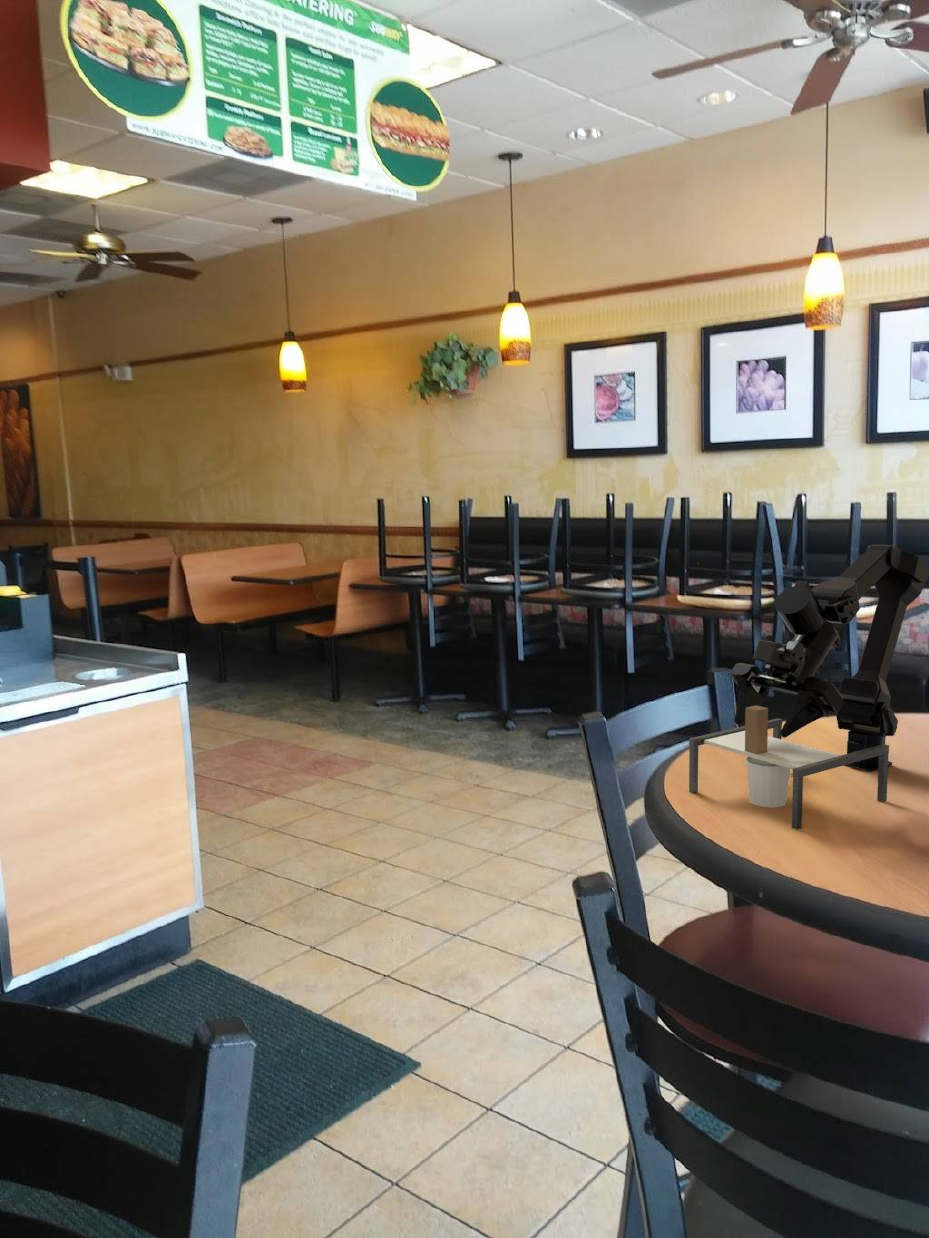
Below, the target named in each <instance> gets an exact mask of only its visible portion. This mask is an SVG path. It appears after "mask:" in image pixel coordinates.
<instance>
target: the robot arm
mask: <svg viewBox="0 0 929 1238" xmlns="http://www.w3.org/2000/svg"><path fill="white" fill-rule="evenodd" d="M928 580H929V564H928V563H926V562H925V561H924V559H923V557H921V556H918V555H915V554H912V553H909V552H908V551H904V550H902V549H901V548H899V547H898V546H896V545H893V544H871V545H867V546H866V548H865V549H864V552H863V554H861V555H860V557H858V558H857V559H856V560H855V561H854V562H852V563H851V565H850V566H848V568H846V569H845V570H844V571H843V572H842V573H841V574H840V575H839V576H837V577H836V578H835V579H834V578H833V579H830V580H827V581H821V582H820V583H818V584H817V585H815V586H813V587H811V584H810V582H809V581H799V580H798V581H796V582H795V584H794V586H791V587H788V588H786V589H784V590H783V591H781V592H780V593H779V594H778V595H777V596H776V598H775V600H774V607H775V610H776V611H777V613H778V615H779V616H780V617H781V619H782V621H783V624H785V626H786V627H787V629H788V630H789V632H791V633H792V634H793V635H794V637H793V638H792V640H789V641H788V642H787V643H784V644H783V643H780V642H774V641H770V640H764V639H763V640H762V639H758V640H757V644H756V646H755V647H756V648H755V650H754V654H753V657H752V659H753V660H754V661H759V662H761V663H763V664H765V666H764V669H766V671H767V672H768V673H771V674H770V676H768V675H765V674H764V673H763V671H761V669H760V668H759V666H758V665H754V664H749V663H745V662H737V663H735V664H734V666H733V667H732V668H731V671H730V672H729V675H730V677H731V678H732V679H733V682H734V683H735V684H736V686H737V688H738V699H737V705H736V710H735V715H734V720H733V722H734V724H735V725H736V726H738V727H740V725H742V724H743V723H745V710H746V708H747V707H751V706H761V703H762V702H763V701H764V699H763V696H765V695H767V693H768V692H769V690H773V691H778V692H782V693H786V694H792V695H795V696H796V703H795V705H794V706H793V708H792V710H791V712H790V714H789V716H788V717H787V719H786V721H785V722H784V724H783V725H782V730H781V732H780V735H781V738H784V739H786V738H788V737H789V736H790V735H793V734H794V733H795V732H797V731H799V730H800V729H802V728H804V727H806V726H808V725H809V724H811V723H813V722H815V721H817V720H819V719H821V718H823V717H826V718H827V717H829V716H830V714H834V715H835V716H836V722H837V723H836V724H837V728H838V730H846V731H848V732H847V742H846V754H849V753H852V752H856V751H860V750H864V749H867V748H871V747H875V746H878V745H882V744H885V745H886V737H894V736H895V734H896V732H897V729H898V724H899V720H898V718H897V717H896V714H895V713H894V711H893V709H892V707H891V700H892V696H891V694H890V691H889V688H888V685H887V683H886V681H887V678H888V674H889V670H890V667H891V663H892V661H893V657H894V653H895V650H896V645H897V643H898V640H899V639H898V638H899V635H900V632H901V628H902V625H903V622H904V618H905V614H906V611H907V607H909V606H910V605H911V604H912V603H913V602H914V601H915V600H916V599H918V598H919V597H920V595H921V593H922V591H923V588H924V586H925V583H927V581H928ZM873 586H874V587H875V589H876V590H875V591H876V592H877V596H878V598H877V599H878V600H877V604H876V606H875V607H876V608H875V611H874V613H873V618H872V620H871V624H870V628H869V632H868V634H867V638H866V640H865V645H864V648H863V652H862V655H861V659H860V663H859V665H858V669H857V671H856V673H854V675H853V676H852V677H848V676H846V677H845V678H843V680H842V682H841V686H840V691H839V690H838V689H837V687H836V685H835V684H834V683H833V682H832V680H831V679H827V678H823V677H816V676H815V675H822V674H823V672H824V671H825V669H824V667H823V666H822V664H823V662H824V660H825V658H826V657H827V655H828V654H829V652H830V650H831V649H832V647H834V648H841V647H842V640H841V638H840V637H841V636H840V630H837V629H835V627H834V625H833V623H834V624H842V625H848V624H849V623H851V622H852V620H853V619H854V618H855V616H856V615H857V614H858V613H859V610H860V609H861V606H860V600H861V598H862V597H863V596H864V595H865V594H867V592H868V591H869V590H870V589H871V588H872V587H873ZM878 765H879V756H876V757H872V758H869V759H865V760H861V761H858V762H854V763H851V764H847V765H846V766H848V767H849V766H850V767H853V768H856V769H860V770H863V771H864V770H865V771H867V772H868V771H869V772H873V771H877V770H878ZM890 766H893V761H889V760H888V767H890Z"/></svg>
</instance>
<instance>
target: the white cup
mask: <svg viewBox="0 0 929 1238" xmlns="http://www.w3.org/2000/svg"><path fill="white" fill-rule="evenodd" d="M746 757H747V758H746V760H745V762H746V772H747V782H748V783H747V784H748V796H749V802H750V803H751V804H752V805H755V806H757V807H762V808H771V809H772V808H780V807H784V806H786V805H785V804H787V798H788V791H789V781H790V775H791V769H790V768H786V767H783V766H779V765H776V764H772V763H769V762H766V761H762V760H759V759H755V758H752V757H748V756H746Z"/></svg>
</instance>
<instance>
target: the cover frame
mask: <svg viewBox="0 0 929 1238" xmlns="http://www.w3.org/2000/svg"><path fill="white" fill-rule="evenodd" d="M782 728H783V718H774V719H770V720H769V719H768V730H771V729H772V737H774V738H777V739H781V740H782V736H781V735H780V732H781V730H782ZM741 731H745V725H743V726H738V727H733V728H729V729H725V730H721V731H720V730H719V731H716V732H711V733H707V734H703V735H699V736H694V737H690V738H688V746H689V748H688V749H689V759H688V760H689V761H688V763H689V765H688V766H689V768H688V770H689V771H688V772H689V773H688V780H689V781H688V792H689V793H692V794H695V793H698V792H699V746H703V745H705V744H704V740H706V739H711V738H715V737H719V736H724V735H728V734H732V733H737V732H741ZM889 753H890V745H888V744H886V743H885V744H882V745H878V746H875V747H871V748H867V749H864V750H860V751H856V752H852V753H849V754H847V753H846V754H842V755H841V754H840V755H841V756H838V757H834V758H830V759H827V760H823V761H819V762H815V763H812V764H808V765H804V766H801V767H797V768H793V769H792V800H791V801H792V802H791V804H792V806H791V828H792V829H793V830H801V829H802V828H803V798H804V796H803V794H804V792H803V791H804V790H803V789H804V788H803V787H804V777H807V776H810V775H814V774H818V773H821V772H824V771H828V770H833V769H837V768H839V767H843V766H848V765H847V764H851V763H854V762H858V761H861V760H865V759H869V758H872V757H876V756H879V765H878V769H877V770H878V771H877V772H878V773H877V795H876V796H877V797H876V799H877V800H876V801H877V802H881V803H884V802H885V801H886V802H887V800H888V775H889V766H888V761H889ZM886 802H885V803H886Z"/></svg>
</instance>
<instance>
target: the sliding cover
mask: <svg viewBox="0 0 929 1238" xmlns="http://www.w3.org/2000/svg"><path fill="white" fill-rule="evenodd" d="M768 720H769V708H768V707H764V706H761V705H759V706H751V707H747V708H746V710H745V721H744V726H745V731H741V732H737V733H732V734H728V735H724V736H719V737H715V738H711V739H706V740H704V745H708V746H711V747H714V748H718V749H722V750H724V751H728V752H732V753H735V754H738V755H742V756H746V757H752V758H755V759H759V760H762V761H766V762H769V763H772V764H776V765H779V766H783V767H786V768H790V770H793V768H797V767H801V766H804V765H808V764H812V763H815V762H819V761H823V760H827V759H830V758H834V757H838V756H841V754H838V753H835V752H834V753H833V752H829V751H826V750H824V749H823V750H822V749H818V748H815V747H811V746H807V745H803V744H800V743H795V742H792V741H789V740H784V739H782V738H781V739H777V738H774V737H773V736H769V733H768V732H769V731H768V730H769V729H768Z"/></svg>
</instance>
